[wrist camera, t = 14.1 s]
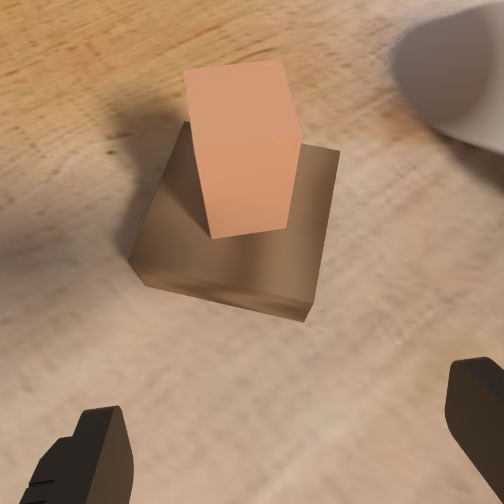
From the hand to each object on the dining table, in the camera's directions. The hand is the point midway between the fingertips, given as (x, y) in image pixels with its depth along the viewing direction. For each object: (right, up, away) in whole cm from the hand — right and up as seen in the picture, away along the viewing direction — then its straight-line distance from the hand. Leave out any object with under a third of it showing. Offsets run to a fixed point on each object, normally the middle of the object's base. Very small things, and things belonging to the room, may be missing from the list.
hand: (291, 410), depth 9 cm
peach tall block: (-2, +7, +17) cm, 19 cm away
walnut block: (-2, +5, +22) cm, 23 cm away
